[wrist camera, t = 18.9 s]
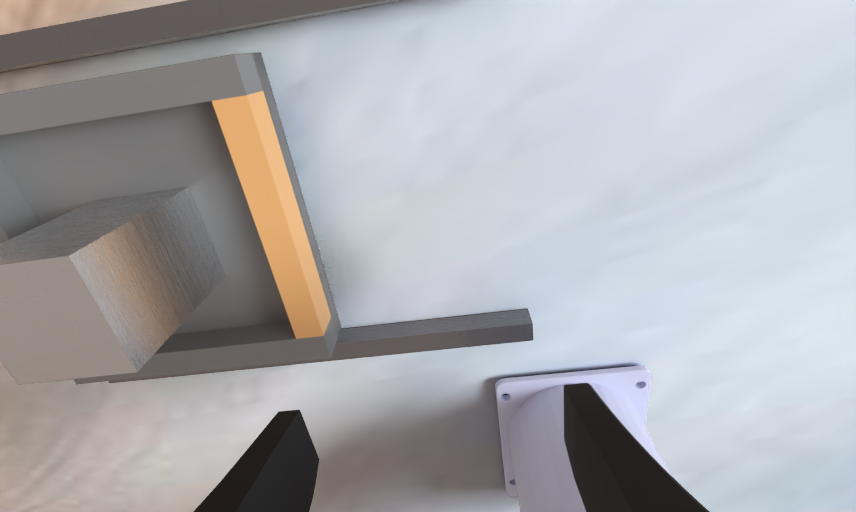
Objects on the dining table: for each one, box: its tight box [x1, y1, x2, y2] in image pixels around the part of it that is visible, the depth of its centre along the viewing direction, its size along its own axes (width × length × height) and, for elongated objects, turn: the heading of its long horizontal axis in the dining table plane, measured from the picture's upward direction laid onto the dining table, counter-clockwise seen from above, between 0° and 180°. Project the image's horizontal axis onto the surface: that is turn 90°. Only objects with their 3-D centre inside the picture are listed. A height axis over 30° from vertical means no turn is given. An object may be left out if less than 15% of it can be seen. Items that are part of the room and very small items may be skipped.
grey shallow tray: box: [0, 53, 341, 384], centre depth 18 cm, size 12×12×3 cm
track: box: [0, 0, 533, 383], centre depth 18 cm, size 16×22×1 cm
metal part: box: [0, 187, 226, 385], centre depth 15 cm, size 4×4×6 cm
